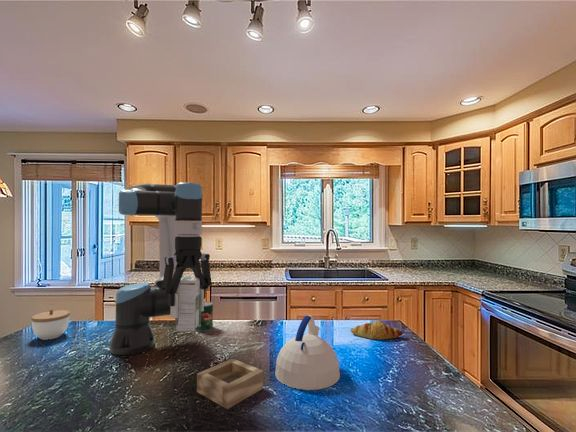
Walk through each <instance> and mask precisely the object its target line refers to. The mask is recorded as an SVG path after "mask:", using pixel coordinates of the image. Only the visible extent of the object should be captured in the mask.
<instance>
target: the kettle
mask: <svg viewBox="0 0 576 432" xmlns="http://www.w3.org/2000/svg"><path fill="white" fill-rule="evenodd" d="M306 328H307V329H306ZM306 330H307V333H305V332H306ZM319 331H320V327H319V326H318V325H316V322H315V318H314V317H313V315H310V314H309V315H305V316H304V317H303V318H302V319H301V322H300V324H299V326H298V328H297V332H296V335H295V336H294V337H292V338H291V339H289V340H288V341H287V342H285V344H284V345H283V346H282V347H281V349H280V350H279V352H278V355H277V356H276V357H277V358H276V362H275V375H274V376H275V377H276V378H277V380H278V381H279V382H280V383H281V384H282V385H284V384H285V386H286V385H287V387H288V388H292V389H295V388H296V390H301V389H302V390H303V391H319V390H323V389H327V388H330V387H331V386H333V385H335V384H336V383H337V382H339V380H340V377H341V376H340V375H341V373H340V364H339V363H340V362H339V359H338V356H337V354H336V352H335V350H334V349H333V347H332V346H331V344H329V343H328V342H327V341H326V340H325V339H323V338H322V337H320V336H319V333H320V332H319ZM302 390H301V391H302Z"/></svg>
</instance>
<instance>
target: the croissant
mask: <svg viewBox="0 0 576 432" xmlns="http://www.w3.org/2000/svg"><path fill="white" fill-rule="evenodd" d="M350 332H351V333H352V334H353V335H356V336H358V337H361V338H366V339H369V340H370V339H371V340H381V341H382V340H388V339H389V340H390V339H396V338H399V337H400V336H403V333H404V331H403V330H402V329H398V328H397V327H392V326H390V325H389V324H386V323H385V322H383V321H382V320H377V319H376V320H374V321H372V322H365V323H363V324H361V325H356V326H354V327H351V328H350Z"/></svg>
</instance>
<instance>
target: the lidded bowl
mask: <svg viewBox="0 0 576 432" xmlns="http://www.w3.org/2000/svg"><path fill="white" fill-rule="evenodd" d="M70 315H71V313H70V310H66V309H65V310H64V309H62V310H61V309H60V310H57V309H56V310H54V309H49V311H44V312H40V313H36V314H35V315H32V316H31V328H32V332H33V334H34V335H35V336H36V337H38V338H39V339H40V340H41V339H42V341H43V340H44V341H45V340H46V341H47V340H48V339H49V340H53V339H57V338H60V337H61V336H62V335H63V333H64V332H66V330H67V329H68V326H69V324H70Z"/></svg>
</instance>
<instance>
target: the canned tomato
mask: <svg viewBox="0 0 576 432" xmlns="http://www.w3.org/2000/svg"><path fill="white" fill-rule="evenodd" d="M213 310H214V303H213V302H212V301H204V311H199V325H198V326H197V328H196V330H195V332H208V331H212V329H213V328H214V327H213V326H214V325H213V324H214V323H213V322H214V321H213V319H214V316H213V315H214V311H213Z"/></svg>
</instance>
